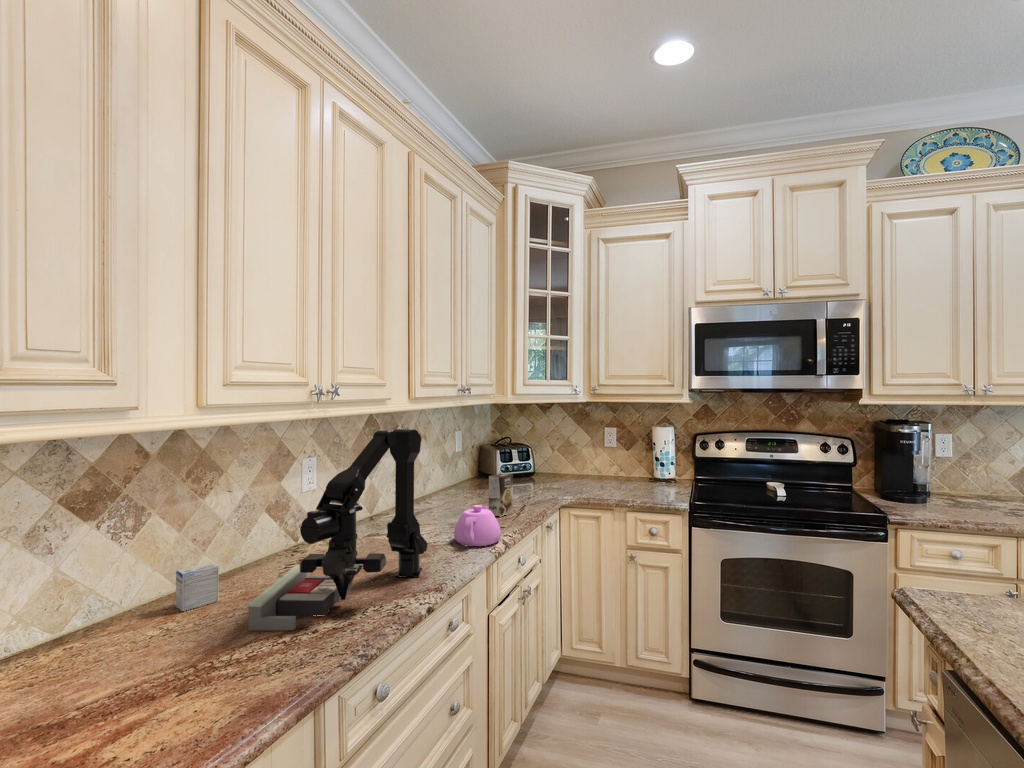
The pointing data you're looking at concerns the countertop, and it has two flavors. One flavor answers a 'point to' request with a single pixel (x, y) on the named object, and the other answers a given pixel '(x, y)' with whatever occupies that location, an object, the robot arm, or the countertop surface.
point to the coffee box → (501, 494)
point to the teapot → (477, 527)
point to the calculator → (308, 599)
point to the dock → (266, 602)
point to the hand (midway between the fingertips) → (343, 599)
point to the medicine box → (197, 586)
